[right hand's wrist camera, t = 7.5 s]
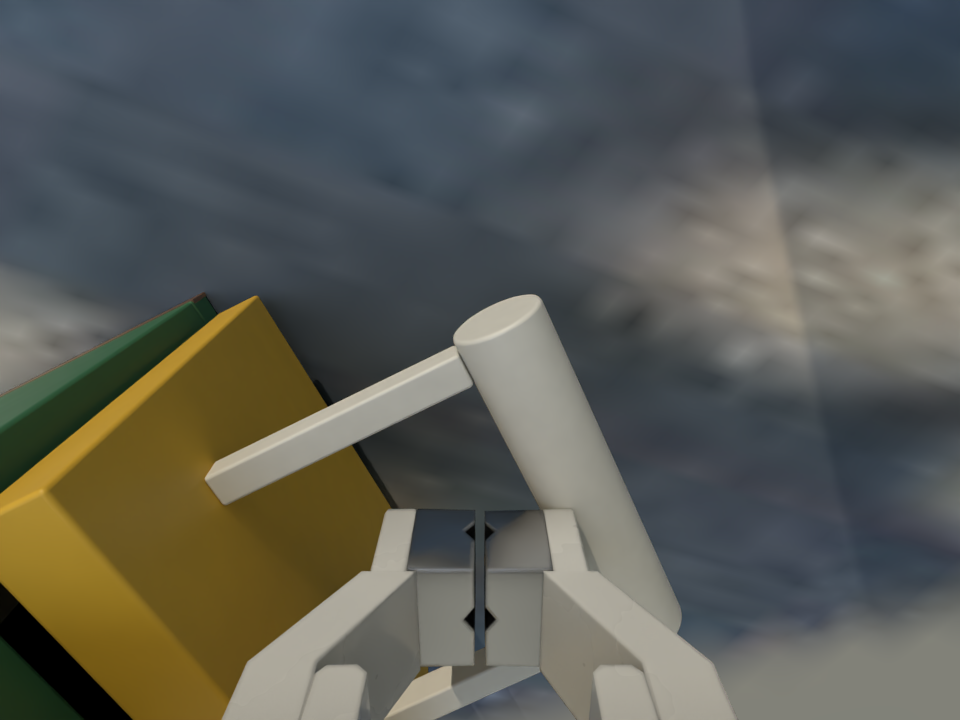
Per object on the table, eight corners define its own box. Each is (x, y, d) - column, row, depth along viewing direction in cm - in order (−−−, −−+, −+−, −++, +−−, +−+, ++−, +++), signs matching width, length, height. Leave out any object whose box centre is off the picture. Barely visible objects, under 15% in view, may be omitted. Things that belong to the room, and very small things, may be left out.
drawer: (466, 189, 15) (541, 241, 6) (602, 480, 19) (781, 794, 10) (-181, 514, 16) (-920, 962, 7) (53, 736, 20) (-260, 1242, 11)
